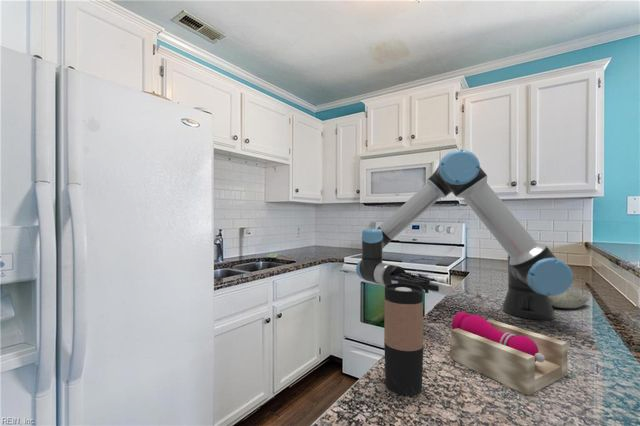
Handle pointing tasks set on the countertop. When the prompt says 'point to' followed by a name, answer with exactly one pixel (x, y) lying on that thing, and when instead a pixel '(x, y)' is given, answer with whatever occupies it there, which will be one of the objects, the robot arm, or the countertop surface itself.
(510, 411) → the countertop surface
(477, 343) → the u rest
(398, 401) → the countertop surface
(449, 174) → the robot arm
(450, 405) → the countertop surface
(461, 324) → the pepper mill
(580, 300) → the rock
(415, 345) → the travel mug
